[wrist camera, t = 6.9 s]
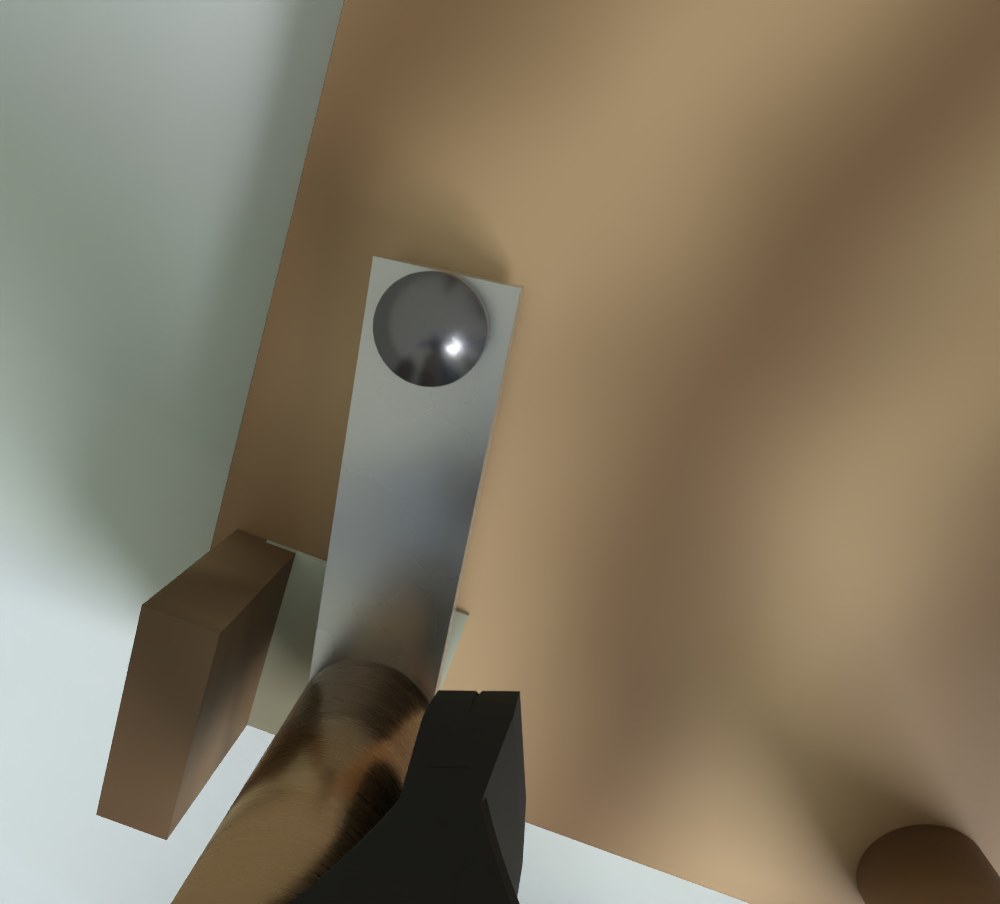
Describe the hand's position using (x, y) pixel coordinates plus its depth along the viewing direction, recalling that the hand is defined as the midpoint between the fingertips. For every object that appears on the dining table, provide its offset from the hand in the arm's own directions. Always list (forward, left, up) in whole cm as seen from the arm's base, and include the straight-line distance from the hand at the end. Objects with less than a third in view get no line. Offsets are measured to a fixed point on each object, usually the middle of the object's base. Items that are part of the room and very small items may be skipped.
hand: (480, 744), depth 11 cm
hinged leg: (+2, -2, -2) cm, 4 cm away
